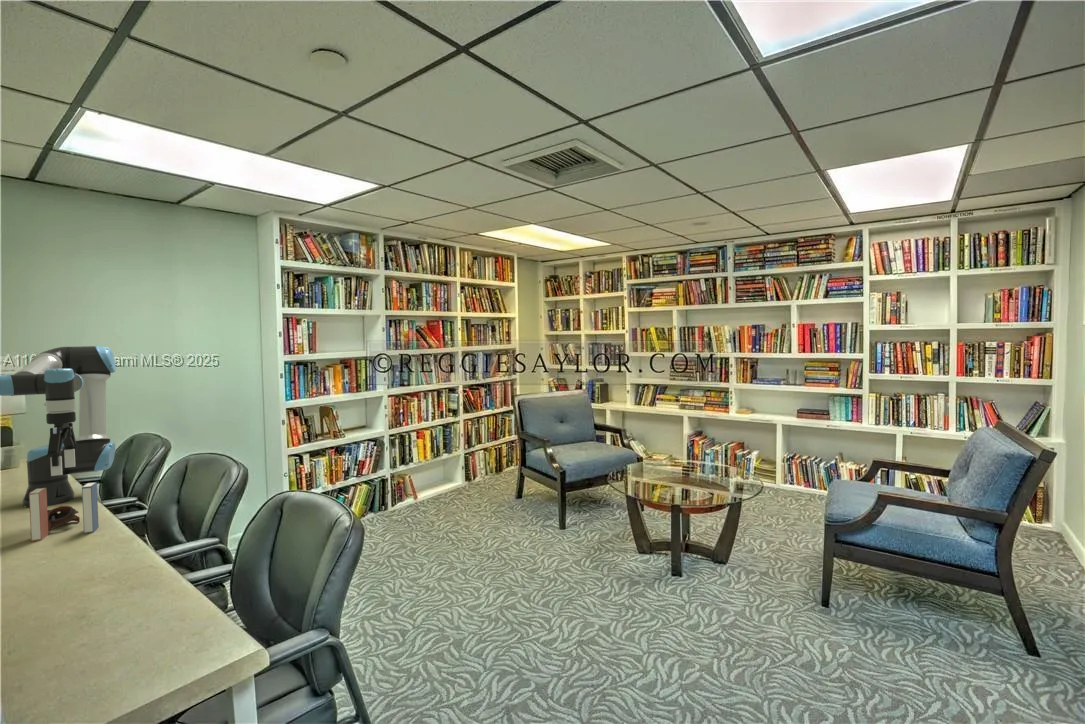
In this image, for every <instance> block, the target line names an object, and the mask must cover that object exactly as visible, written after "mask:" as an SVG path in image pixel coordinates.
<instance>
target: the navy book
mask: <svg viewBox="0 0 1085 724" xmlns="http://www.w3.org/2000/svg"><path fill="white" fill-rule="evenodd" d="M81 496H82V499H81V500H82V519H83V520H82V522H83V534H84V535H87V534H92V533H95V532H96V531H97V530H98V528H99V524H100V523H99V507H98V506H99V505H98V483H97V482H96V481H95V482H87V483H85V484H84V485H83V486H82V487H81Z"/></svg>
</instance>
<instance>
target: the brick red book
mask: <svg viewBox="0 0 1085 724" xmlns="http://www.w3.org/2000/svg"><path fill="white" fill-rule="evenodd" d="M29 505H30V507H29V521H30V542H39V541H43V540H44V539H45V538H46V537H47V536H48V535H49V531H48V513H47V510H48V506H47V491H46V488H40V489H35V490H34V491H32V492H30V493H29Z"/></svg>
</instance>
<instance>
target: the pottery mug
mask: <svg viewBox="0 0 1085 724" xmlns="http://www.w3.org/2000/svg"><path fill="white" fill-rule="evenodd" d="M47 513H48V532H51V531H52V529H55V528H58V527H61V526H65V525H66V524H68V523H69V522H76V523H77V522H78V523H79V522H81V521H80V516H78V515H76V514H79V511H78V510H76V508H73V507H72V506H70V505H60V506H56V507H53V508H52V509H47Z"/></svg>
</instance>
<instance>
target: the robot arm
mask: <svg viewBox="0 0 1085 724" xmlns="http://www.w3.org/2000/svg"><path fill="white" fill-rule="evenodd" d="M115 372H116V361H115V357H114V354H113V351H112V349H111V348H110V347H108V346H98V345H93V346H92V345H89V346H59V347H55V348H52V349H51V348H50V349H48V350H47V349H46V350H45V351H42V352H40V353H37V354H36V355H35V356H34V357H32V358H31V360H30V362H29V363H28V364H27V365H25V366H23V368H21V369H20V370H18V371H17V372H15V373H14V374H11V373H10V374H9V373H8V374H0V396H2V397H6V396H8V397H17V396H32V395H33V396H35V395H45V403H44V404H43V406H44V407H45V411H46V412H47V413H46V414H45V415H46V416H45V417H46V419H45V421H46V424H48V425H54V426H53V427H50V428H49V438H48V439H49V440H48V444H46V445H42V446H38V447H34V448H32V449H30V450H29V451H27V453H26V461H25V462H26V465H27V466H26V468H27V482H28V483H27V489H26V491H25V494H24V496H23V499H22V507H24V506H26V507H25V508H30V505H29V493H30V492H32V491H34V490H35V489H40V488H46V491H47V507H48V506H54V505H58V504H63V503H67V502H69V501H72V500H74V499H75V498H74V497H76V496H75V491H74V489H73V487H72V485H71V483H70V481H69V475H75V474H81V473H82V474H84V473H93V472H99V471H106V470H108V469H110V468H111V467H112V466H113V464H114V463H113V462H114V459H115V455H116V444H115V442H113V441H111V437H109V436H108V435H107V434H106V429H107V428H106V426H107V425H106V424H107V420H106V419H107V380H109V379H110V378H111V375H112V374H113V373H115ZM111 373H112V374H111ZM78 391H79V394H78V395H79V396H78V397H79V399H78V402H79V403H78V437H77V438H76V436H75V432H74V425H73V424H74V423H75V422H76V420H77V418H76V417H77V416H76V411H75V410H76V399H75V393H76V392H78ZM73 498H74V499H73ZM71 499H72V500H71ZM62 502H63V503H62Z"/></svg>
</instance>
